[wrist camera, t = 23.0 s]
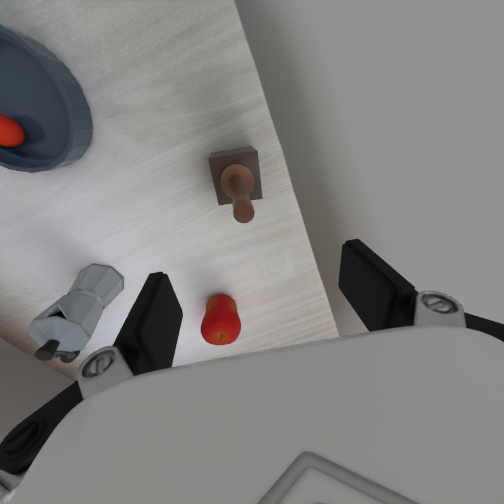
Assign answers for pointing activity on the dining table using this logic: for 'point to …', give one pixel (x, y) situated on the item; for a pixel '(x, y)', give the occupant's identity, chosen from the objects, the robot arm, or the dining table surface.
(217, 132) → the dining table surface
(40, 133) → the bowl
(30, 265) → the dining table surface
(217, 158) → the rest
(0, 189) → the dining table surface
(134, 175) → the dining table surface
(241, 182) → the wooden plunger
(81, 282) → the coffee maker
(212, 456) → the robot arm
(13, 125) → the ball
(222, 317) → the apple
